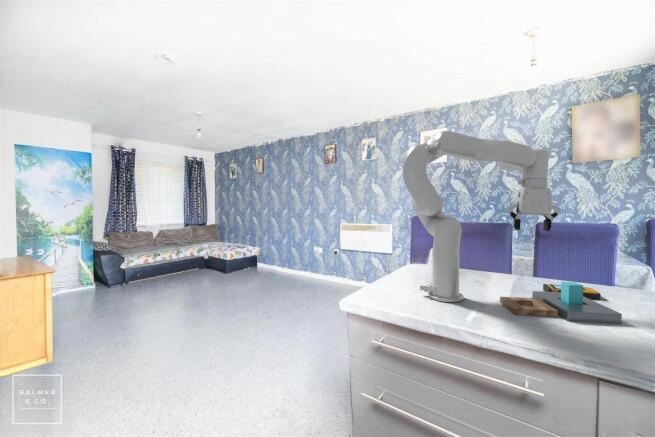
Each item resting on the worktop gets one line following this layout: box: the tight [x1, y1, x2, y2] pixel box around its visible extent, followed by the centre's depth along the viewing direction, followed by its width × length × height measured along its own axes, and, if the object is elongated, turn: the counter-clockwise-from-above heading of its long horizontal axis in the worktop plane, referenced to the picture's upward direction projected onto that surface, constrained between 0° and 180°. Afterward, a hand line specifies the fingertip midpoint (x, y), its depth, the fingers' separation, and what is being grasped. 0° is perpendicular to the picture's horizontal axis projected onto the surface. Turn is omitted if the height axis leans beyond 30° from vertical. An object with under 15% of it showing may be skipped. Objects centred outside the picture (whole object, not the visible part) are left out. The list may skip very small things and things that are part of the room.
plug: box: [560, 281, 584, 305], centre depth 94 cm, size 4×4×9 cm
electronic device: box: [542, 283, 602, 301], centre depth 110 cm, size 8×16×3 cm, turn 66°
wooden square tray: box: [499, 296, 559, 318], centre depth 96 cm, size 12×12×2 cm
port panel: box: [531, 290, 623, 325], centre depth 94 cm, size 14×20×3 cm
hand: (531, 230), depth 106 cm, fingers open, 9 cm apart
